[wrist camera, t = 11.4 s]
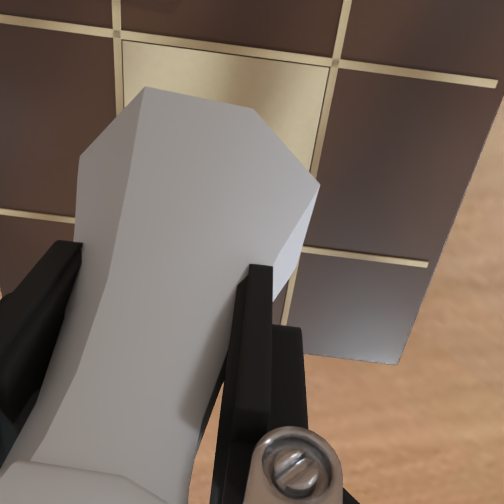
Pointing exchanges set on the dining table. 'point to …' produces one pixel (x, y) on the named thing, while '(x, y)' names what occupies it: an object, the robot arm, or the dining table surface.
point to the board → (282, 124)
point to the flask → (156, 297)
